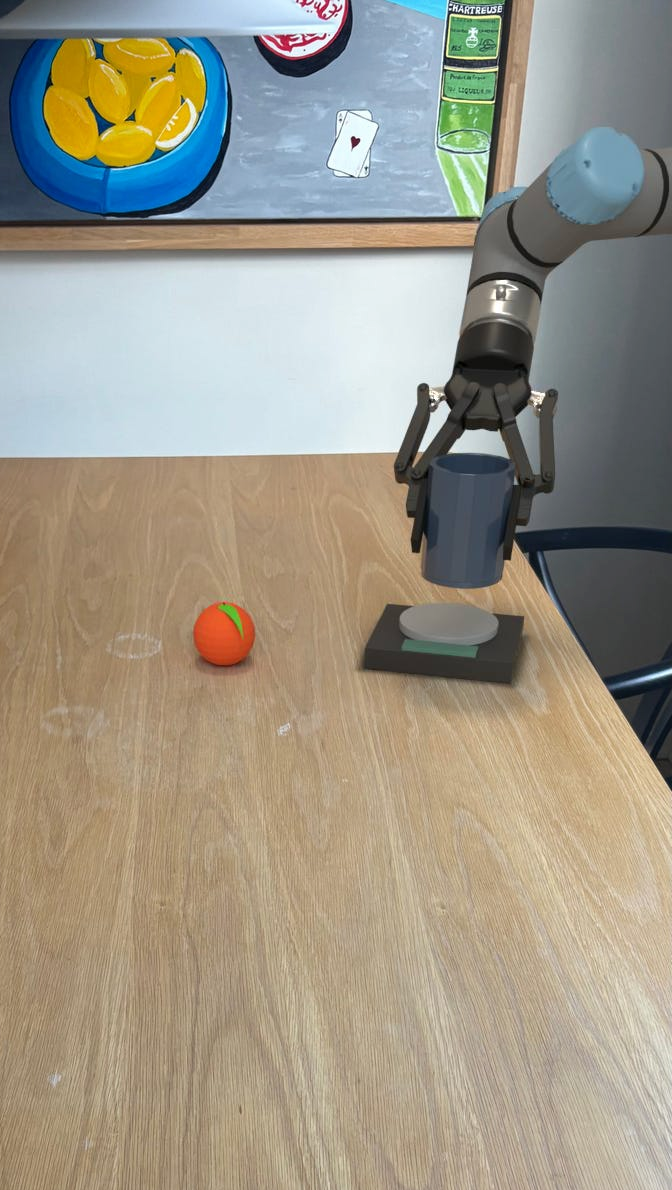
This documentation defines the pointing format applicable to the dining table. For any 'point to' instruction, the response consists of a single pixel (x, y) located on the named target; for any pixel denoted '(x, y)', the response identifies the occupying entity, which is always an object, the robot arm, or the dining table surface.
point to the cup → (466, 519)
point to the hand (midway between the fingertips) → (460, 549)
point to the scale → (445, 642)
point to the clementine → (224, 633)
